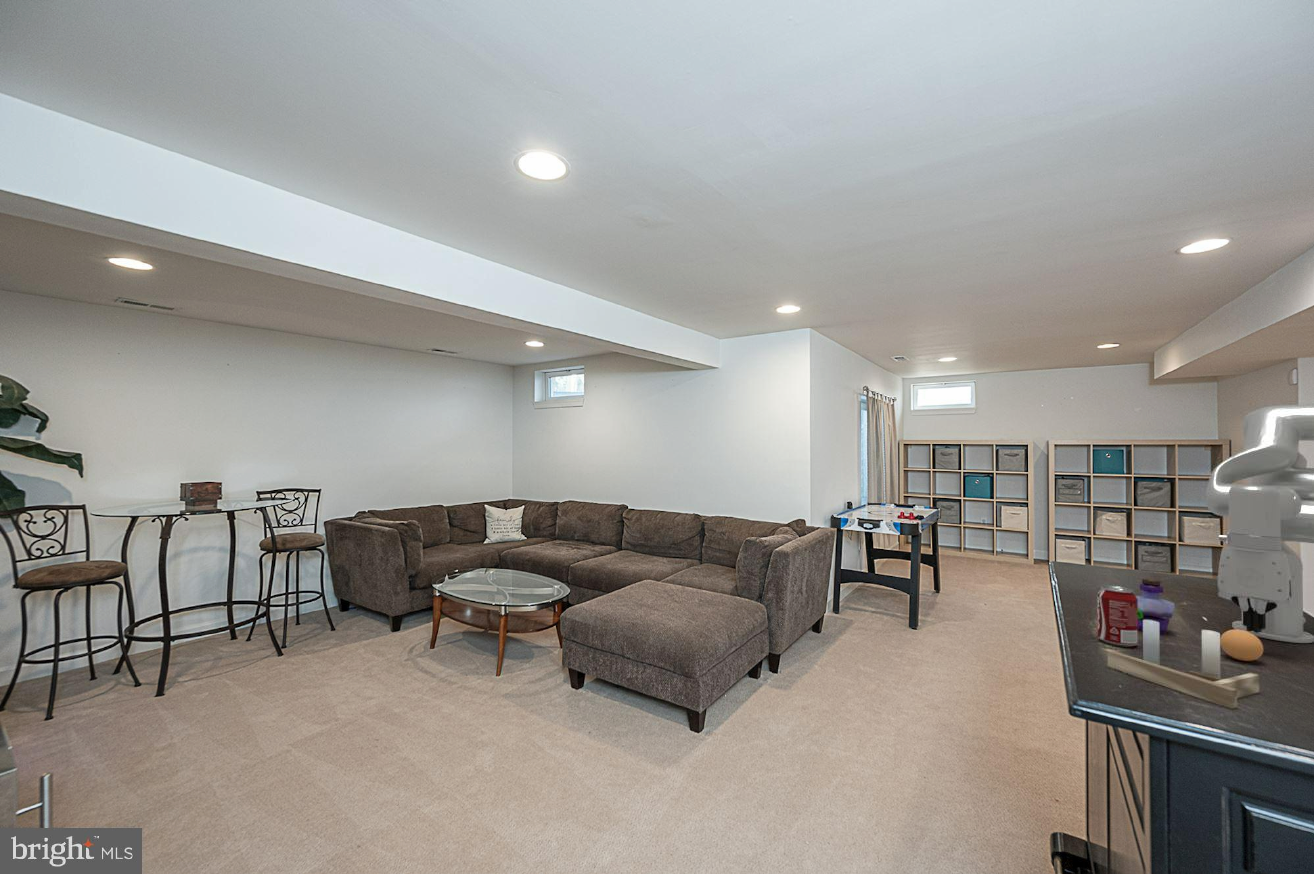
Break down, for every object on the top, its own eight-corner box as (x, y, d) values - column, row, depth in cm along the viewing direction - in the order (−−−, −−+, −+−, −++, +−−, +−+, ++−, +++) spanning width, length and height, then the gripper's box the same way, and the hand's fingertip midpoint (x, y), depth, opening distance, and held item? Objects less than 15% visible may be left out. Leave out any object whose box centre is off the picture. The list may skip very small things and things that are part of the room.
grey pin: (1147, 661, 108) (1147, 618, 109) (1162, 666, 106) (1162, 622, 106) (1140, 663, 108) (1140, 620, 108) (1155, 667, 105) (1154, 623, 105)
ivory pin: (1206, 674, 103) (1206, 629, 103) (1223, 679, 100) (1222, 633, 100) (1199, 676, 102) (1198, 630, 102) (1215, 681, 99) (1215, 634, 100)
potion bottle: (1119, 627, 130) (1119, 576, 130) (1137, 622, 134) (1137, 573, 134) (1166, 638, 122) (1165, 585, 123) (1183, 633, 126) (1183, 581, 126)
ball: (1230, 652, 114) (1229, 624, 114) (1270, 663, 108) (1269, 633, 108) (1213, 656, 112) (1213, 626, 112) (1253, 667, 106) (1253, 636, 106)
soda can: (1145, 649, 115) (1145, 593, 115) (1109, 647, 116) (1108, 591, 117) (1125, 639, 122) (1124, 585, 122) (1090, 636, 123) (1090, 583, 123)
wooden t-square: (1149, 658, 110) (1149, 643, 110) (1275, 696, 93) (1275, 679, 93) (1107, 666, 105) (1107, 651, 106) (1232, 708, 89) (1231, 690, 89)
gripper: (1199, 539, 120) (1199, 623, 119) (1303, 550, 107) (1304, 644, 106) (1211, 538, 124) (1211, 619, 123) (1312, 548, 111) (1313, 639, 110)
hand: (1254, 630), depth 114 cm, fingers closed
